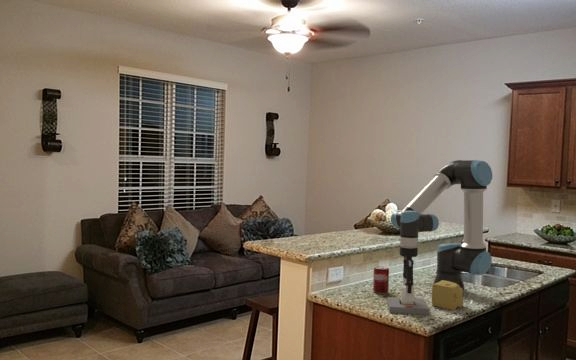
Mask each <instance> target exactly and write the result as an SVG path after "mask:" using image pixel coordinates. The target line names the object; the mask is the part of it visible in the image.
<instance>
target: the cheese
mask: <svg viewBox="0 0 576 360" xmlns="http://www.w3.org/2000/svg"><path fill="white" fill-rule="evenodd" d="M431 289H432V290H431V303H432V304H431V305H432V306H433V307H436V306H437V308H440V309H441V308H442V309H447V310H452V311H453V310H456V309H457V308H461V307H463V305H464V298H463V294H464V292H463V290H462V288H460V285H458V284H457V283H453V282H449V281H445V280H441V281H440V282H438V283H435V284H433V283H432V288H431Z"/></svg>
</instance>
